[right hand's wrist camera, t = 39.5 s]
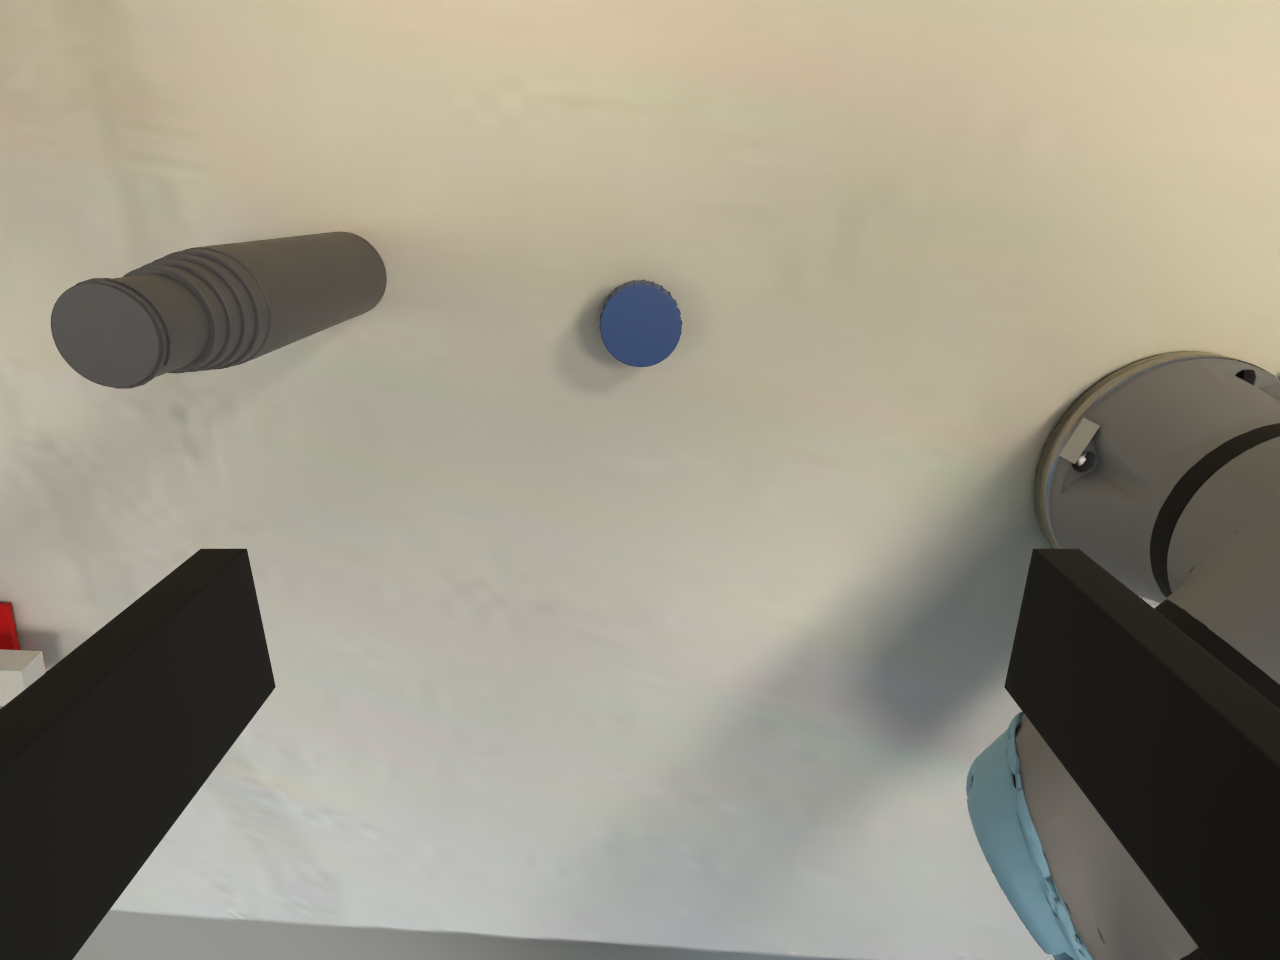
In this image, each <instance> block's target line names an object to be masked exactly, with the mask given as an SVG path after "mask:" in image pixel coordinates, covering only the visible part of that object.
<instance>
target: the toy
mask: <svg viewBox="0 0 1280 960" xmlns="http://www.w3.org/2000/svg"><path fill="white" fill-rule="evenodd" d="M44 674H45V667H44V661H43V654H42V651H28V650H20V648H19V643H18V638H17V633H16V628H15V623H14V618H13V613H12V608H11V603H0V709H1V708H2V707H4V706H5V705H6V704H7V703H9V702H10V701H11V700H12V699H14V698H15V697H16V696H17V695H19V694H20V693H21V692H22V691H24V690H25V689H26V688H27V687H29V686H30V685H31V684H32V683H34V682H35V681H36V680H37V679H39V678H40V677H41V676H42V675H44Z"/></svg>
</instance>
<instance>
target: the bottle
mask: <svg viewBox="0 0 1280 960" xmlns="http://www.w3.org/2000/svg"><path fill="white" fill-rule="evenodd" d="M385 287H386V271H385V267H384V264H383V261H382V259H381V257H380V255H379V254H378V252H377V251H376V250H375V248H374V247H373V246H372V245H371V244H370V243H368V242H367V241H366V240H364V239H363V238H361V237H359V236H357V235H354V234H351V233H347V232H332V233H323V234H314V235H305V236H296V237H287V238H278V239H269V240H260V241H251V242H242V243H233V244H224V245H215V246H206V247H197V248H190V249H186V250H183V251H179V252H175V253H171V254H169V255H166V256H165V257H163V258H160V259H158V260H155V261H154V262H152V263H149V264H147V265H144V266H142V267H141V268H139V269H136V270H133V271H131V272H129V273H128V274H126V275H125V276H123V277H122V278H115V279H110V278H94V279H89V280H86V281H83V282H80V283H77V284H76V285H75V286H73V287H71V288H70V289H68V290H66V291H65V292H64V293H63V294H62V295H61V296H60V297H59V298H58V300H57V301H56V303H55V305H54V308H53V310H52V315H51V330H52V335H53V339H54V341H55V344H56V346H57V348H58V350H59V352H60V353H61V355H62V357H63V358H64V359H65V361H66V362H67V363H68V364H69V365H70V366H71V367H72V368H73V369H74V370H75V371H76V372H78V373H79V374H80V375H82V376H83V377H85V378H87V379H88V380H90V381H92V382H95V383H97V384H100V385H103V386H108V387H114V388H134V387H137V386H141V385H144V384H146V383H147V382H149V381H150V380H152V379H153V378H155V377H157V376H159V375H162V374H165V373H184V372H194V371H203V370H212V369H223V368H227V367H230V366H235V365H239V364H242V363H245V362H247V361H250V360H252V359H254V358H257V357H259V356H262V355H264V354H266V353H269V352H271V351H274V350H276V349H278V348H281V347H283V346H286V345H288V344H291V343H293V342H295V341H298V340H300V339H303V338H305V337H307V336H310V335H312V334H315V333H317V332H319V331H322V330H324V329H327V328H329V327H331V326H334V325H336V324H339V323H341V322H343V321H346V320H348V319H351V318H353V317H355V316H358V315H360V314H363V313H365V312H367V311H369V310H371V309H372V308H373V307H375V306H376V305H377V304H378V302H379V301H380V300H381V298H382V296H383V294H384V291H385Z"/></svg>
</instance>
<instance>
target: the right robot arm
mask: <svg viewBox="0 0 1280 960" xmlns="http://www.w3.org/2000/svg"><path fill="white" fill-rule="evenodd" d="M1035 505H1036V512H1037V516H1038V520H1039V523H1040V526H1041V528H1042V531H1043V532H1044V534H1045V536H1046V538H1047V540H1048V541H1049V543H1050V544H1051V546H1052V547H1053V548H1054V549H1033V552H1032V557H1031V562H1030V566H1029V571H1028V576H1027V581H1026V586H1025V591H1024V595H1023V600H1022V605H1021V610H1020V615H1019V620H1018V624H1017V629H1016V634H1015V639H1014V644H1013V648H1012V653H1011V658H1010V663H1009V668H1008V673H1007V677H1006V682H1005V688H1006V690H1007V691H1008V692H1009V694H1010V695H1011V696H1012V698H1013V699H1014V700H1015V702H1016V703H1017V704H1018V706H1019V707H1020V709H1021V710H1022V711H1023V712H1021V713H1019V714H1018V715H1016V716H1015V717H1014V718H1013V720H1012V722H1011V724H1010V725H1009V728H1008V729H1007V730H1006V731H1005V732H1004V733H1003V734H1002V735H1001V736H1000V737H999V738H998V739H996V740H995V741H994V742H993V743H992V744H991V745H990V746H989V747H988V748H987V749H985V750H984V751H983V752H982V753H981V754H980V755H979V756H978V757H977V758H976V759H975V761H974V762H973V764H972V765H971V768H970V770H969V773H968V777H967V787H966V791H967V797H968V798H967V803H968V810H969V814H970V818H971V822H972V825H973V828H974V831H975V834H976V836H977V839H978V841H979V844H980V846H981V848H982V851H983V853H984V855H985V857H986V860H987V862H988V864H989V866H990V868H991V870H992V872H993V874H994V875H995V877H996V879H997V881H998V883H999V885H1000V886H1001V888H1002V890H1003V892H1004V893H1005V895H1006V897H1007V898H1008V900H1009V902H1010V903H1011V905H1012V907H1013V908H1014V910H1015V911H1016V913H1017V915H1018V916H1019V918H1020V919H1021V921H1022V922H1023V924H1024V925H1025V927H1026V928H1027V930H1028V931H1029V932H1030V934H1031V935H1032V937H1033V938H1034V939H1035V941H1036V942H1037V943H1038V945H1039V946H1040V947H1041V948H1042V949H1043V951H1044V952H1045V953H1047V954H1050V955H1053V957H1054V959H1055V960H1280V380H1279V379H1277V378H1276V377H1275V376H1273V375H1272V374H1270V373H1269V372H1267V371H1265V370H1264V369H1262V368H1260V367H1258V366H1255V365H1253V364H1250V363H1247V362H1244V361H1241V360H1237V359H1234V358H1230V357H1226V356H1222V355H1218V354H1213V353H1208V352H1198V351H1183V352H1173V353H1167V354H1161V355H1157V356H1153V357H1150V358H1146V359H1143V360H1140V361H1138V362H1135V363H1132V364H1130V365H1128V366H1126V367H1124V368H1122V369H1120V370H1118V371H1116V372H1114V373H1113V374H1111V375H1109V376H1108V377H1106V378H1105V379H1103V380H1102V381H1100V382H1099V383H1097V384H1096V385H1095V386H1093V387H1092V388H1091V389H1090V390H1088V391H1087V392H1086V393H1085V394H1084V395H1083V396H1082V397H1081V398H1080V399H1079V400H1077V401H1076V402H1075V404H1074V405H1073V406H1072V407H1071V408H1070V409H1069V410H1068V411H1067V412H1066V414H1065V415H1064V416H1063V418H1062V419H1061V420H1060V422H1059V423H1058V425H1057V426H1056V428H1055V429H1054V431H1053V432H1052V434H1051V436H1050V438H1049V440H1048V442H1047V444H1046V446H1045V448H1044V451H1043V453H1042V456H1041V459H1040V462H1039V465H1038V470H1037V475H1036V481H1035ZM1137 595H1138V596H1137ZM1139 596H1141V597H1144V598H1147V599H1150V600H1153V601H1156V602H1159V603H1161V604H1159V605H1158V606H1157V607H1156V608H1155V609H1154V608H1152V607H1151V606H1150V605H1149V604H1147V603H1146V602H1145V601H1144V600H1142V599H1141V598H1140V597H1139ZM274 688H275V682H274V677H273V673H272V668H271V663H270V658H269V653H268V648H267V644H266V639H265V634H264V629H263V624H262V620H261V615H260V610H259V605H258V600H257V595H256V591H255V586H254V581H253V576H252V571H251V566H250V562H249V557H248V552H247V549H200V550H199V551H198V552H196V553H195V554H194V555H193V556H191V557H190V558H189V559H188V560H186V561H185V562H184V563H183V564H181V565H180V566H179V567H178V568H176V569H175V570H174V571H173V572H171V573H170V574H169V575H168V576H166V577H165V578H164V579H163V580H161V581H160V582H159V583H158V584H156V585H155V586H154V587H153V588H151V589H150V590H149V591H148V592H146V593H145V594H144V595H143V596H141V597H140V598H139V599H138V600H136V601H135V602H134V603H133V604H131V605H130V606H129V607H128V608H126V609H125V610H124V611H123V612H121V613H120V614H119V615H118V616H116V617H115V618H114V619H113V620H111V621H110V622H109V623H108V624H106V625H105V626H104V627H102V628H101V629H100V630H99V631H97V632H96V633H95V634H94V635H92V636H91V637H90V638H89V639H87V640H86V641H85V642H84V643H82V644H81V645H80V646H79V647H77V648H76V649H75V650H74V651H72V652H71V653H70V654H69V655H67V656H66V657H65V658H64V659H62V660H61V661H60V662H59V663H57V664H56V665H55V666H54V667H52V668H51V669H50V670H49V671H47V672H46V673H45V674H44V675H42V676H41V677H40V678H39V679H37V680H36V681H35V682H34V683H32V684H31V685H30V686H29V687H27V688H26V689H25V690H24V691H22V692H21V693H20V694H19V695H17V696H16V697H15V698H14V699H12V700H11V701H10V702H9V703H7V704H6V705H5V706H4V707H2V708H1V709H0V960H72V959H73V958H74V957H75V955H76V954H77V953H78V951H79V950H80V949H81V947H82V946H83V945H84V943H85V942H86V941H87V939H88V938H89V936H90V935H91V934H92V932H93V931H94V930H95V928H96V927H97V926H98V924H99V923H100V922H101V920H102V919H103V918H104V916H105V915H106V914H107V912H108V911H109V910H110V908H111V907H112V906H113V904H114V903H115V902H116V900H117V899H118V898H119V896H120V895H121V894H122V892H123V891H124V890H125V888H126V887H127V886H128V884H129V883H130V882H131V880H132V879H133V877H134V876H135V875H136V873H137V872H138V871H139V869H140V868H141V867H142V865H143V864H144V863H145V861H146V860H147V859H148V857H149V856H150V855H151V853H152V852H153V851H154V849H155V848H156V847H157V845H158V844H159V843H160V841H161V840H162V839H163V837H164V836H165V835H166V833H167V832H168V831H169V829H170V828H171V827H172V825H173V824H174V822H175V821H176V820H177V818H178V817H179V816H180V814H181V813H182V812H183V810H184V809H185V808H186V806H187V805H188V804H189V802H190V801H191V800H192V798H193V797H194V796H195V794H196V793H197V792H198V790H199V789H200V788H201V786H202V785H203V784H204V782H205V781H206V780H207V778H208V777H209V776H210V774H211V773H212V772H213V770H214V769H215V768H216V766H217V765H218V763H219V762H220V761H221V759H222V758H223V757H224V755H225V754H226V753H227V751H228V750H229V749H230V747H231V746H232V745H233V743H234V742H235V741H236V739H237V738H238V737H239V735H240V734H241V733H242V731H243V730H244V729H245V727H246V726H247V725H248V723H249V722H250V721H251V719H252V718H253V717H254V715H255V714H256V713H257V711H258V710H259V709H260V707H261V706H262V704H263V703H264V702H265V700H266V699H267V698H268V696H269V695H270V694H271V692H272V691H273V690H274Z"/></svg>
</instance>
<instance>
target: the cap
mask: <svg viewBox="0 0 1280 960" xmlns="http://www.w3.org/2000/svg"><path fill="white" fill-rule="evenodd" d="M603 309H604V310H603V312H602V314H601V317H600V319H601V323H600V330H601V336H602V339H603V342H604V344H605V346H606V348H607V349H608V351H609V352H610V353H611V354H612V355H613V356H614V357H615V358H616V359H618V360H619V361H621V362H622V363H624V364H627V365H630V366H635V367H647V366H652V365H655V364H657V363H659V362H661V361H663V360H664V359H666V358H667V357H668V356H669V355H670V354H671V353H672V352H673V350H674V349H675V347H676V346H677V344H678V341H679V338H680V335H681V324H682V321H681V317H680V314H681V313H680V310H679V308H677V303H676V300H674V299H673V297H672V296H671V295H670V292H667V291H666V290H665V289H664V288H663V286H659V285H658V284H655V283H654V282H649V281H644V280H643V281H635V280H633V282H629V283H624V285H622V286H621V287H619V288H618V289H617V288H616V290H615V291H614V292H613V293H612V294H611V295H609V298H608V300H607V302H606V303H605V304H604V307H603Z"/></svg>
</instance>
